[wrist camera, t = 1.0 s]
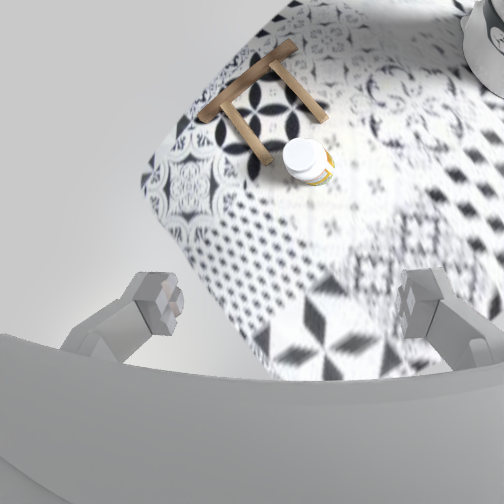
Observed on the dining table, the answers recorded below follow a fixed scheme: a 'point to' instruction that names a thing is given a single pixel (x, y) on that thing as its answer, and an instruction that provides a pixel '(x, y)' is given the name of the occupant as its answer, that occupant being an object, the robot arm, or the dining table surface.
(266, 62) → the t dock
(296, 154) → the supplement bottle
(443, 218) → the dining table surface
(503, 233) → the dining table surface
